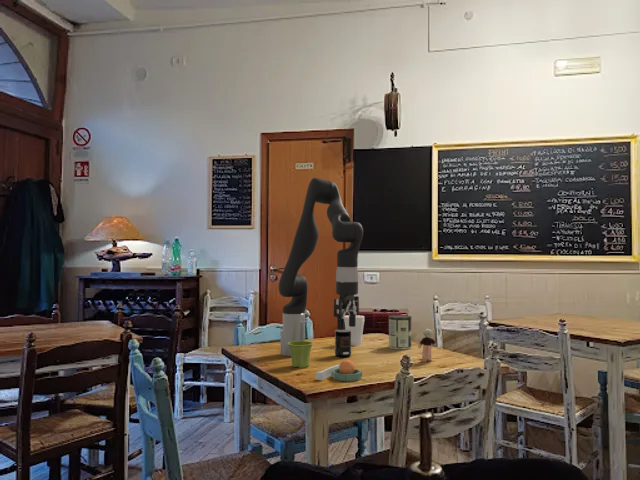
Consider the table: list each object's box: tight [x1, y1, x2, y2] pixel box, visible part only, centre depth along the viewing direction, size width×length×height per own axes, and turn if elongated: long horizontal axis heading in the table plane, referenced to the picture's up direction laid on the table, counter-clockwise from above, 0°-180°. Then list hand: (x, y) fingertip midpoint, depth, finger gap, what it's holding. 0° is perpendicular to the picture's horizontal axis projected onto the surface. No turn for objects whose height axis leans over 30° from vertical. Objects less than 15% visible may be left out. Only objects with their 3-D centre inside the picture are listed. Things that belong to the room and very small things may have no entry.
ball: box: [339, 359, 356, 374], centre depth 171 cm, size 5×5×5 cm
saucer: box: [331, 368, 363, 382], centre depth 171 cm, size 10×10×2 cm
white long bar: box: [315, 363, 340, 381], centre depth 176 cm, size 2×19×2 cm, turn 150°
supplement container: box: [334, 329, 352, 359], centre depth 208 cm, size 7×7×10 cm
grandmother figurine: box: [417, 328, 437, 363], centre depth 199 cm, size 8×4×13 cm, turn 118°
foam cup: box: [344, 314, 365, 347], centre depth 235 cm, size 10×9×13 cm
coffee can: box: [388, 314, 413, 350], centre depth 228 cm, size 10×10×14 cm
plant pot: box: [288, 340, 314, 369], centre depth 189 cm, size 9×9×9 cm
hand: (346, 328), depth 172 cm, fingers open, 8 cm apart
